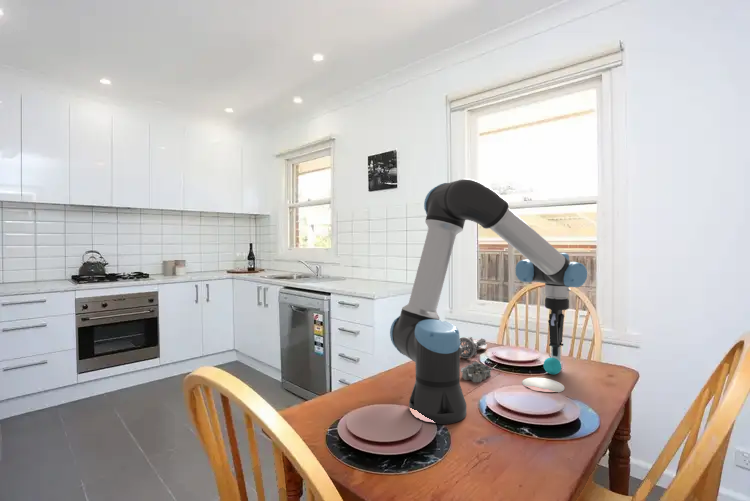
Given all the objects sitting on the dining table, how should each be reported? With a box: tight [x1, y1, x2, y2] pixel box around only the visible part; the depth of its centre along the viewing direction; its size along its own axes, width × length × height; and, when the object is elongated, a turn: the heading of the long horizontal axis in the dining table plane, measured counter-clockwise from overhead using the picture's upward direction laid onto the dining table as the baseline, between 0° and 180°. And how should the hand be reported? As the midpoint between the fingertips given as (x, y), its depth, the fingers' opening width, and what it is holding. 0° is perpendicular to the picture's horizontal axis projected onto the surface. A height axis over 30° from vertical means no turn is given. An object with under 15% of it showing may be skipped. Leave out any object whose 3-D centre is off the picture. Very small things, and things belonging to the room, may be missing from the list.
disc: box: [521, 377, 565, 394], centre depth 120 cm, size 12×12×1 cm
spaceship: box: [460, 336, 488, 360], centre depth 147 cm, size 8×35×8 cm
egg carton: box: [460, 361, 493, 383], centre depth 128 cm, size 10×7×4 cm
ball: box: [542, 357, 562, 375], centre depth 129 cm, size 6×6×6 cm
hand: (555, 364), depth 134 cm, fingers closed
